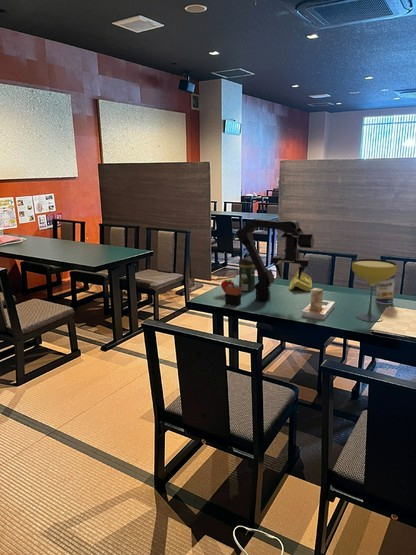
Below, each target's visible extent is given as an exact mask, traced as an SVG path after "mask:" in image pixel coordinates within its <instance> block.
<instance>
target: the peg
mask: <svg viewBox="0 0 416 555" xmlns="http://www.w3.org/2000/svg"><path fill="white" fill-rule="evenodd" d="M310 291H311V292H310V293H311V294H310V303H311V307H310V310H312V311H319V312H321V311H322V300H323V294H324V289H323V288H318V287H314V288H311V289H310Z"/></svg>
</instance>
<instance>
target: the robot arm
mask: <svg viewBox="0 0 416 555" xmlns="http://www.w3.org/2000/svg"><path fill="white" fill-rule="evenodd" d="M258 228H261V229H272V230H279V231H280V232H284V233H283V234H282V235H281V238H284V239H285V241H284V242H285V243H284V244H285V245H284V258H283V256H278V255H275V256H272V257H271V258H270V264H272V266H274V267H275V269H276V270H277V273H278V275H279V277H280V278H282V277H283V263H286V264H294V265H295V264H296V265H297V264H298V265H300V266H298V271H299V275H298V279H299V280H300V278H301V275H302V273H304V271H305V269H306V268H308V267H309V266H311V265H312V260H311V259H310V258H301V252H299V248H301V249H302V248H303V249H313V248H314V244H315V238H314V234H313V233H304V232H303V230H302V229H301V227H300V223H299V221H298V220H295V219H291V220H282V221H281V220H279V221H278V220H271V219H262V218H253V219H251V221H249V222H248V223H247V224H246V225H244V226H243V227H241V228H238V229H237V231H236V237H237V239H238V240H239V242H240V243H241V244H242V245H243V246H244V248H245V249H246V251H247V253H248V255H249V257H251V259H252V262H253V264H254V266H255V270H256V272H257V274H256V275H257V280H258V282H257V283H255V289H254V290H255V299H254V301H256V302H264V303H267V302H268V301H270V300H271V291H270V288H271V286H272V285H273V283H274V282H275V275H274V273H273V271H272V268H271V269H268V268H267V267H266V266H265V263H264V261H263V259H262V257H261V256H260V253H259V251H258V249H257V246H256V245H255V243H254V235H253V232H255V231H256V230H257V229H258ZM298 247H299V248H298Z"/></svg>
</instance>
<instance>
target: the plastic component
mask: <svg viewBox="0 0 416 555" xmlns="http://www.w3.org/2000/svg"><path fill="white" fill-rule="evenodd" d="M298 275H299V270H298V271H296V272H295V274H294V276H293V277H292V278H291V281H290V283H289V288H288V290H289V291H293V290H294V288H296V287H297V288H299V289H301V290H303V291H305V292H310V291H311V290H312V288H313V286H312V285H313V284H312V283H313V282H312V277H310V275H308V274H306V273H304V272H303V273H302V275H301V278H300V280H299V279H298Z"/></svg>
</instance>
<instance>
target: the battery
mask: <svg viewBox="0 0 416 555" xmlns="http://www.w3.org/2000/svg"><path fill="white" fill-rule="evenodd" d="M224 296H225V300H224V302H225V305H226V306H232V307H238V306H240V305H242V291H241V287H239V284H234V286H232V285H228V286H227V287H225V292H224Z"/></svg>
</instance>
